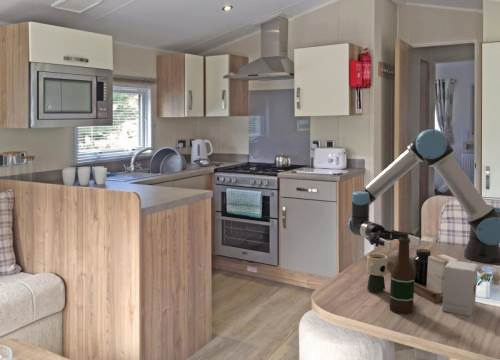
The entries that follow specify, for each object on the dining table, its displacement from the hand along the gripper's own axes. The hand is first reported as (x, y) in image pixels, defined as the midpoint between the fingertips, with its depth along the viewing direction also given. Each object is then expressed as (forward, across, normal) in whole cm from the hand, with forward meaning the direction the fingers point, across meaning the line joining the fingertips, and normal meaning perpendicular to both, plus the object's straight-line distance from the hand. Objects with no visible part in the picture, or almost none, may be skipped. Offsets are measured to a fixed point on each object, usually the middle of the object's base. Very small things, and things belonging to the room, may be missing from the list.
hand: (405, 243), depth 189 cm
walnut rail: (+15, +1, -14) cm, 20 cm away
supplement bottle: (+11, +1, -12) cm, 16 cm away
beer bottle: (+26, +21, -14) cm, 36 cm away
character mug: (+9, +19, -14) cm, 25 cm away
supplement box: (+32, +3, -14) cm, 35 cm away
